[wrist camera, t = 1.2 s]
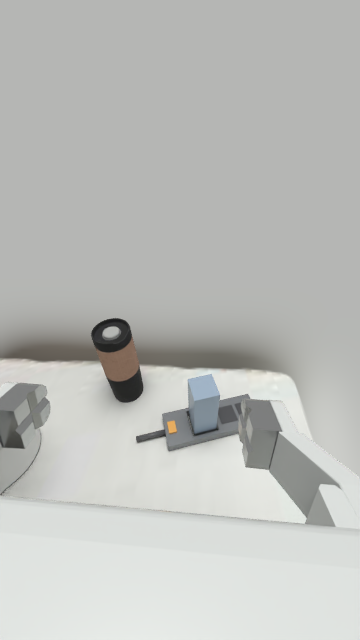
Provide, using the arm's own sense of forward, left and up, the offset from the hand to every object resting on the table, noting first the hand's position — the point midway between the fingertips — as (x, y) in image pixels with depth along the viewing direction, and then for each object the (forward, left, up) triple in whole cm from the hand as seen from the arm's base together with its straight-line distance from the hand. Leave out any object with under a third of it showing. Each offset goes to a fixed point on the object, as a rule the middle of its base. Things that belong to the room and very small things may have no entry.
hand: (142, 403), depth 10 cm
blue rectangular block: (+9, +18, -41) cm, 46 cm away
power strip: (+8, +18, -41) cm, 46 cm away
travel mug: (-6, +31, -42) cm, 52 cm away
